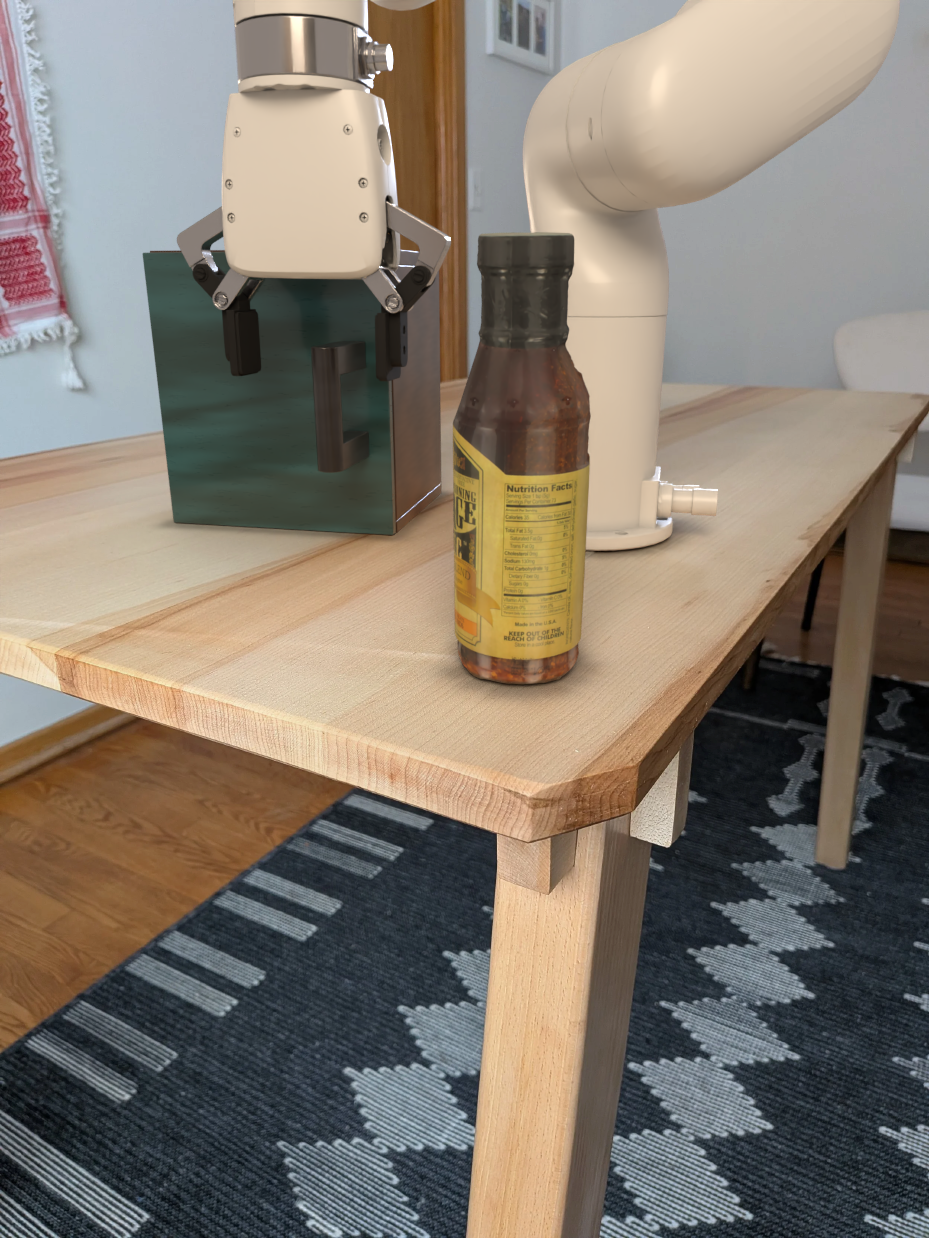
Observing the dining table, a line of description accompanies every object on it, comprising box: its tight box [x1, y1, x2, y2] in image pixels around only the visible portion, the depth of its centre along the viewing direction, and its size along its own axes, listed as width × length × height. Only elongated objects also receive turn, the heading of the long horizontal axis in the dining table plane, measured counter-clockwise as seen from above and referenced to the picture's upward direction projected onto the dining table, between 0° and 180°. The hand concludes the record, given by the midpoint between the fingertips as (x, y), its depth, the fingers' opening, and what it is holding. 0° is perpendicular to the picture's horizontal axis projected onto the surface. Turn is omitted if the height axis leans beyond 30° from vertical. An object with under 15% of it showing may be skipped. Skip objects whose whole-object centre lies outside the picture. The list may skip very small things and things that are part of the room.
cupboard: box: [149, 249, 442, 533], centre depth 74 cm, size 14×18×20 cm
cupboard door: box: [142, 252, 397, 536], centre depth 64 cm, size 7×18×20 cm, turn 77°
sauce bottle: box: [452, 232, 591, 685], centre depth 42 cm, size 7×6×20 cm
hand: (316, 376), depth 58 cm, fingers open, 9 cm apart
